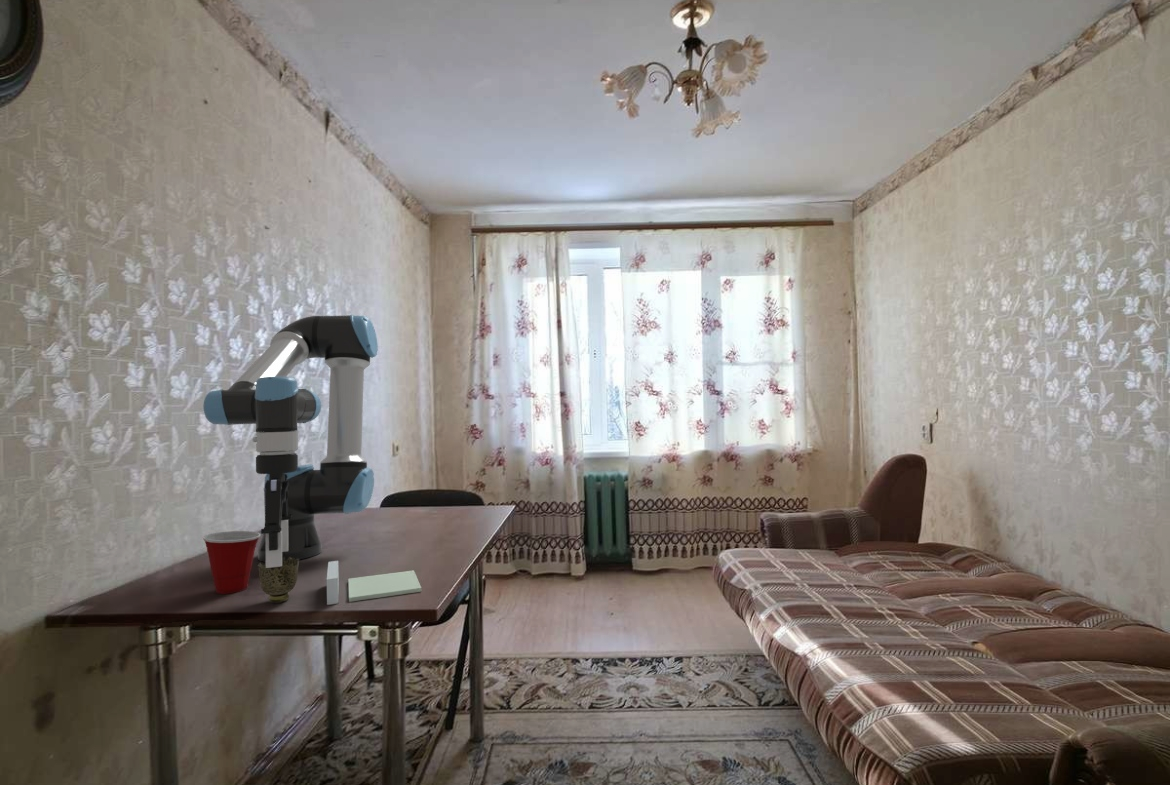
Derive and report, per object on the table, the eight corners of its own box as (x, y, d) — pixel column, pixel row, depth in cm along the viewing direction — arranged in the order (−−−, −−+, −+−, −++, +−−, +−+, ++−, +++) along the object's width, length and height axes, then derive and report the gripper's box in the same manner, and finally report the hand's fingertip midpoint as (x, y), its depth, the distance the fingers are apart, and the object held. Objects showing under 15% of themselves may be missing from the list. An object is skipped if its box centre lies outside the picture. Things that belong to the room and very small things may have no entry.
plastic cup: (262, 591, 124) (261, 535, 124) (201, 601, 119) (200, 542, 119) (261, 578, 133) (261, 526, 134) (205, 587, 128) (204, 532, 128)
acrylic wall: (328, 584, 128) (328, 561, 128) (338, 583, 129) (338, 560, 129) (327, 604, 115) (326, 579, 115) (338, 603, 116) (337, 577, 116)
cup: (282, 608, 114) (281, 567, 114) (249, 606, 115) (248, 565, 115) (307, 595, 121) (307, 556, 121) (276, 594, 122) (276, 555, 122)
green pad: (348, 582, 129) (348, 578, 129) (414, 573, 135) (413, 570, 135) (349, 601, 116) (348, 597, 116) (421, 591, 122) (421, 587, 122)
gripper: (263, 450, 128) (264, 548, 128) (246, 457, 105) (246, 576, 105) (301, 449, 131) (302, 544, 131) (292, 455, 108) (293, 571, 108)
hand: (277, 559), depth 118 cm, fingers open, 13 cm apart
